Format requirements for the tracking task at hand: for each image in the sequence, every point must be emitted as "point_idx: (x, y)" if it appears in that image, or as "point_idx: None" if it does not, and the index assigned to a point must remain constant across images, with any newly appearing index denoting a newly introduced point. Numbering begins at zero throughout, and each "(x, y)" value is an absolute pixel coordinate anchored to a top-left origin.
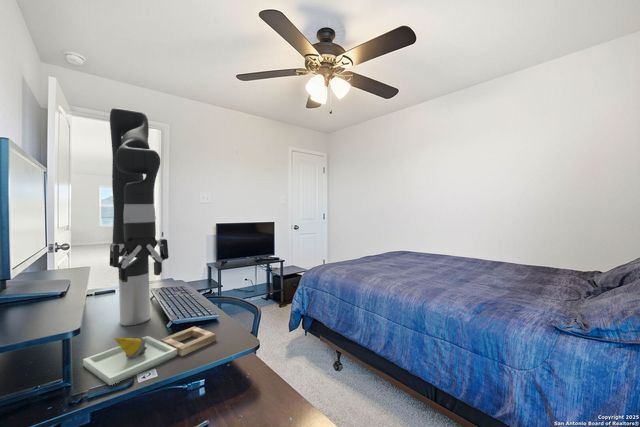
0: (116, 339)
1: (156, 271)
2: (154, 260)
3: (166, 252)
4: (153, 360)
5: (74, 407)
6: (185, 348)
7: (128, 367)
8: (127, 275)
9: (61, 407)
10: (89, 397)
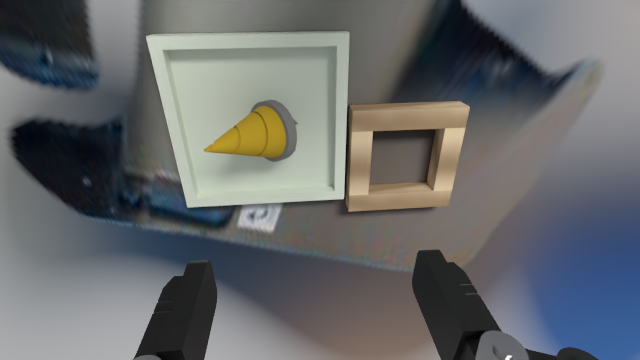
0: (211, 151)
1: (423, 295)
2: (477, 348)
3: None
4: (283, 201)
5: (127, 215)
6: (357, 209)
7: (238, 165)
8: (208, 337)
9: (106, 198)
10: (152, 204)
